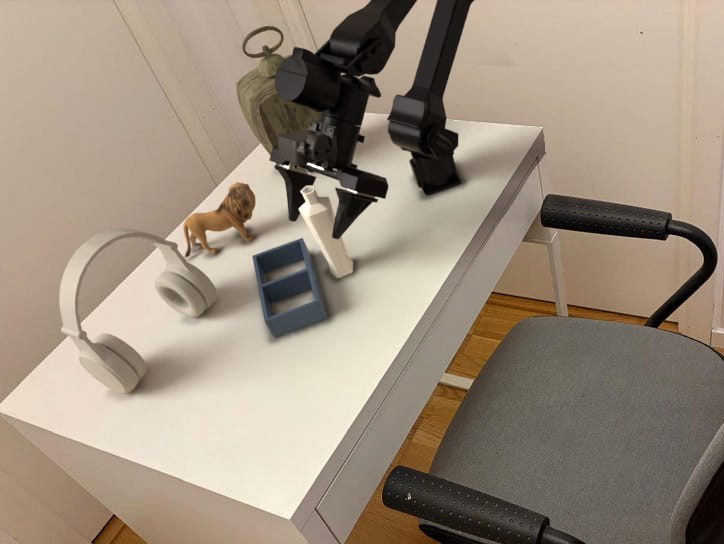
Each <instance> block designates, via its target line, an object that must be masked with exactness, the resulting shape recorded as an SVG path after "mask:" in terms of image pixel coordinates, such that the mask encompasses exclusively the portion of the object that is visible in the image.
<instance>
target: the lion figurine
mask: <svg viewBox="0 0 724 544" xmlns="http://www.w3.org/2000/svg"><path fill="white" fill-rule="evenodd" d="M256 203H257V202H256V194H255V193H254V192H253V190H252V189H251V188H250V186H249V183H244V182H237V181H236V182H235V183H233V184H232V185H230V186H229V187H228V193H227V194H226V195H225V196H224V199H223V200H222V201H221V203H220V204H219V206H218V207H217V209H214V210H210V211H207V212H196V213H192V214H191V215H189V216H188V217H187V218H186V219H185V220H184V222H183V233H184V237H185V241H186V244H187V247H186V248H187V249H186V251H185V254H184V258H188V257H189V256H190V255H191V252H192V248H193V249H194V250H195V249H196V250H197V249H201V248H203V249H204V250H206V251H207V252H208V253H209V254H210V255H216V254H217V253H218V248H217V247H211V246H210V245H208V238H207V233H206V231H210V232H223V231H227V230H229V229H231V228H234V229H236V231H237V232H238V233H239V234H240V236H241V237H242V239H243V240H245V242H251V241H253V239H254V237H253V235H252V234H250V235H249V233H248V230H249V229H248V228H247V227H246V226H245V223H246V222H248V221H249V220H251V219H252V217H253V211H254V210H255V206H256ZM189 231H190V233H189ZM197 240H198V241H199V242H197Z"/></svg>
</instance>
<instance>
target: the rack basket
mask: <svg viewBox="0 0 724 544" xmlns="http://www.w3.org/2000/svg"><path fill="white" fill-rule="evenodd" d="M251 257H252V262H253V268H254V273H255V278H256V284H257V289H258V295H259V299H260V304H261V310H262V315H263V322H264V323H265V325H266V327H267V328H268V330H269V332H270V334H271V335H272V338H273V339H276V338H279V337H281V336H284V335H286V334H290V333H292V332H295V331H297V330H300V329H303V328H306V327H308V326H311V325H313V324H317V323H319V322H321V321H324V320H328V319H329V316H328V313H327V309H326V306H325V302H324V299H323V295H322V291H321V288H320V284H319V280H318V277H317V273H316V270H315V266H314V262H313V258H312V255H311V252H310V251H309V248H308V246H307V244H306V242H305V240H304V237H300V238H297V239H295V240H292V241H290V242H287V243H284V244H280V245H278V246H276V247H275V246H274V247H273V248H270V249H266V250H264V251H262V252H259V253H256V254H253V255H252V256H251ZM303 260H304V263H305V267H306V268H304V269H303V268H302V269H301V270H298V271H295V272H293V273H289V274H287V275H284V276H281V277H279V278H276V279H273V280H270V281H268V280H267V276H266V273H269V272H272V271H275V270H277V269H280V268H283V267H285V266H289V265H291V264H294V263H297V262H299V261H303ZM267 281H268V282H267ZM310 290H312V293H313V298H314V300H313V301H309V302H307V303H304V304H302V305H299V306H296V307H294V308H291V309H287V310H285V311H282V312H280V313H278V314H274V310H273V305H272V304H274V303H277V302H279V301H282V300H285V299H287V298H290V297H292V296H296V295H298V294H302V293H304V292H307V291H310Z"/></svg>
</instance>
